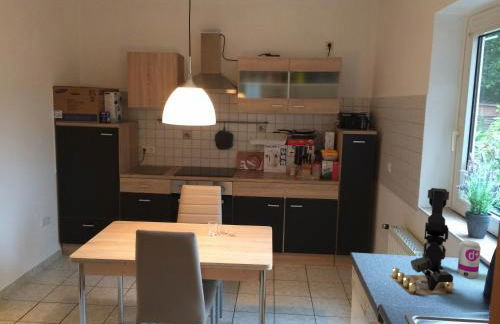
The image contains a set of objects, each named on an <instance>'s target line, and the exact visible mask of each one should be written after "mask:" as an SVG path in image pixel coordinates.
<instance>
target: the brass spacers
mask: <svg viewBox="0 0 500 324" xmlns="http://www.w3.org/2000/svg"><path fill="white" fill-rule="evenodd" d="M391 273H392V274H391V275H392V278H393V279H398V280H397V283H399V284H403V288H405V289H409V293H410V294H416V285H417V283H415V282H410V278H409V277H404V275H406V274H405V273H404V272H402V271H400V269H399V268H397V267H392V272H391ZM392 278H391V279H392ZM393 279H392V280H393ZM397 283H396V284H397ZM399 284H398V285H399ZM438 287H439V288H445V287H446V289H445V292H446V293H449V294H452V293H454V281H453V282H439V285H438ZM403 288H402V289H403ZM409 293H408V294H409ZM410 294H409V295H410Z"/></svg>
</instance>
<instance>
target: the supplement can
mask: <svg viewBox="0 0 500 324" xmlns="http://www.w3.org/2000/svg"><path fill="white" fill-rule="evenodd" d="M458 246H459V249H458V250H459V251H458V260H457V274H459V275H460V276H461V277H463V278H467V279H476V278H478V276H479V270H480V260H481V259H480V258H481V246H480V244H479V243H478V242H476V241H473V240H467V239H466V240H462V241H461V242H460V243H459V245H458Z"/></svg>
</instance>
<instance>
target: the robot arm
mask: <svg viewBox="0 0 500 324" xmlns="http://www.w3.org/2000/svg"><path fill="white" fill-rule="evenodd" d="M427 199H429V200H428V203H429V206H430V207H431V214H430V215H429V216H428V217H427V222H425V225H424V226H425V228H424V239H423V240H425V241H426V242H424V244H423V246H424V248H423V253H422V256H421V257H418V258H415V259H413V260H410V266H411V269H412V270H414V271H415V272H416V273H423V275H425V276H426V278H427V282H428V286H429V290H430V291H433V290H434V288H435V287H436V286H437V284H438V283H439V282H453V283H454V276H453V275H452V273H450V272H448V271H447V270H444V266H443V265H442V261H443V260H445V258H446V251H447V249H446V247H445V245H444V243H446V242H447V240H449V228H450V227H449V226H448V224H446V218H445V217H444V216H443V214H444V213H443V210H444V208H445V207H446V206H447V202H448V201H449V200H450V191H448V190H447V189H446V188H438V187H431V188H430V189H428V190H427Z"/></svg>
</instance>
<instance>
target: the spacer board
mask: <svg viewBox="0 0 500 324" xmlns="http://www.w3.org/2000/svg"><path fill="white" fill-rule="evenodd" d="M388 277H390V278H391V279H392V280H393V281H394V282H395V283H396V284H397V285H399V286H400V287H401V288H402V289H403V290H404V291H405V292H406V293H407V294H409V295H410V296H440V295H441V296H443V295H446V296H449V295H452V296H454V295H457V294H456V293H454V292H453V293H452V294H449V293H446V292H445V289H446V286H445V288H439V287H438V285H439V283H438V284H437V286H436V287H435V288H434V290H433V291H430V290H429V289H428V290H425V289H420V288H418V287H417V286H416V294H410V293H409V289H405V288H403V284H399V283H397V280H398V279H393V278H392V274H390V275H388ZM404 277H409V278H410V282H415V283H416V281H417V280H420V279H421V280H427V278H426V276H425V274H405V275H404Z"/></svg>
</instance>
